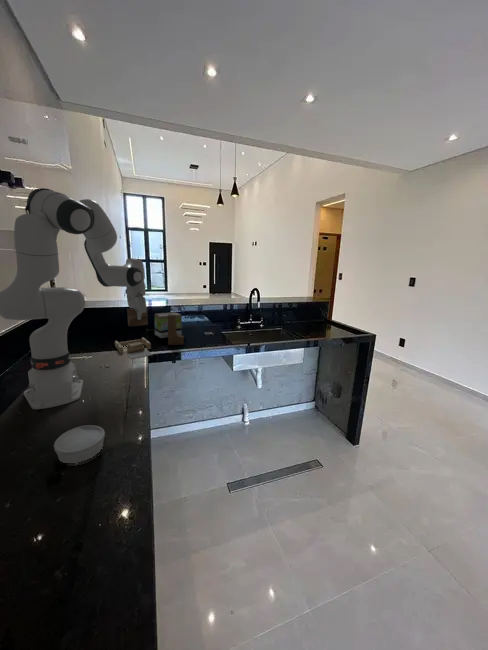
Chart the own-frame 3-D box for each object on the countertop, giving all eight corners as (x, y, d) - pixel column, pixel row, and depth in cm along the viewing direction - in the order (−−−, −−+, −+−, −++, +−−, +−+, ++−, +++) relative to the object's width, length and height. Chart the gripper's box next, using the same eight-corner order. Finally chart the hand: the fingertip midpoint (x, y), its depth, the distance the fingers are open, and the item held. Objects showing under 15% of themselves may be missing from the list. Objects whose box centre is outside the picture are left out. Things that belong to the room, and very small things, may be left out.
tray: (151, 349, 152) (150, 343, 151) (120, 354, 143) (120, 347, 142) (143, 342, 164) (142, 336, 163) (114, 346, 155) (114, 340, 154)
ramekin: (113, 441, 76) (111, 424, 75) (93, 471, 66) (91, 452, 64) (73, 440, 76) (71, 424, 75) (46, 470, 65) (43, 452, 64)
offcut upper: (143, 346, 149) (143, 343, 148) (130, 348, 144) (130, 345, 144) (140, 344, 151) (140, 341, 151) (128, 346, 147) (128, 343, 146)
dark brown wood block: (147, 324, 140) (147, 308, 138) (129, 326, 135) (128, 309, 133) (145, 323, 143) (145, 307, 141) (128, 325, 137) (126, 308, 135)
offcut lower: (144, 350, 149) (144, 346, 148) (129, 352, 144) (129, 348, 144) (142, 348, 152) (141, 344, 152) (127, 350, 148) (127, 346, 147)
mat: (152, 355, 143) (152, 354, 143) (131, 359, 136) (131, 358, 136) (148, 351, 149) (148, 350, 149) (127, 354, 142) (127, 353, 142)
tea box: (161, 338, 172) (160, 316, 169) (154, 335, 180) (153, 313, 176) (182, 335, 182) (181, 314, 179) (175, 332, 189) (174, 311, 186)
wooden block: (183, 342, 167) (183, 314, 163) (183, 344, 163) (183, 315, 158) (168, 343, 165) (167, 314, 160) (168, 345, 160) (167, 315, 156)
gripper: (149, 294, 129) (150, 322, 132) (136, 289, 144) (138, 314, 148) (135, 294, 125) (137, 323, 128) (124, 289, 141) (126, 315, 144)
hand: (137, 318), depth 138 cm, fingers closed on dark brown wood block, 3 cm apart
